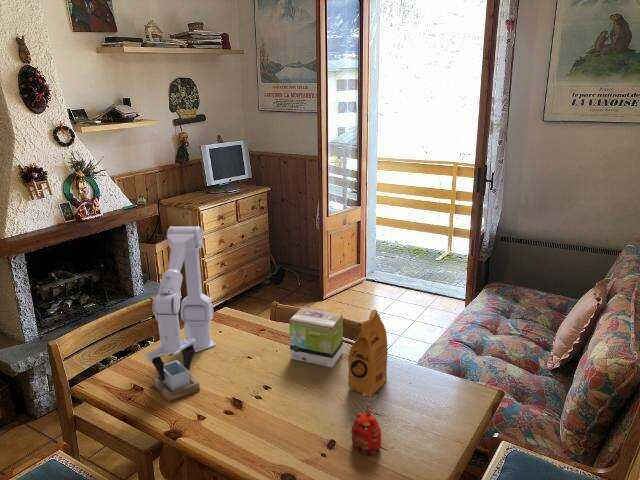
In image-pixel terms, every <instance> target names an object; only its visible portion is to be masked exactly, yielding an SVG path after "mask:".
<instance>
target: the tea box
mask: <svg viewBox="0 0 640 480" xmlns="http://www.w3.org/2000/svg"><path fill="white" fill-rule="evenodd" d="M343 315H344V314H342V313H336V312H331V311H324V310H319V309H312V308H307V307H300V308H299V309H298V310H297V311H296V313H295V314H293V316H292V317H291V318H290V319H288V322H289V325H288V326H289V352H290V353H289V354H290V360H295V361H299V362H300V361H301V362H303V363H309V364H310V363H311V364H314V365H318V366H323V367H326V368H331V369H332V368H333V367H334V366H335V365H336V363H337V362H338V360H340V358H341V356H342V354H343V352H344V351H343V350H344V349H343V347H344V344H343V343H344V341H343V340H344V339H343V338H344V335H343V334H344V332H343V331H344V322H343V321H344V316H343Z"/></svg>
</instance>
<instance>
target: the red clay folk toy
mask: <svg viewBox="0 0 640 480" xmlns="http://www.w3.org/2000/svg"><path fill="white" fill-rule="evenodd" d="M361 394H362V397H367V399H368V402H367V406H368V407H367V410H366V413H361V412H358V414H356V418H355V420H354V422H353V424H352V426H351V430H350V433H351V441H352V443H351V444H352V447H353V448H354V451H355V452H358V453H359V452H360V453H361V454H362V455H366V456H375V455H376V453H377V452H378V451H379V450H380V448H381V446H382V432H381V431H382V429H381V427H380V425H379V421H378V420H377V419H376V418H375V416H373V415H372V413H371V412H370V411H371V409H370V407H371V406H372V405H371V398H372V397H371V389H370V393H368V395H366V394H365V392H363V393H361Z"/></svg>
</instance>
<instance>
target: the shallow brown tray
mask: <svg viewBox="0 0 640 480" xmlns="http://www.w3.org/2000/svg"><path fill="white" fill-rule="evenodd" d="M189 377H190V385H188V386H185V387H183V388H180V389H178V390H175V391H173V392H169V391H168V389H167V388H166V387H165V386H164V385H163V384H162V382H161V379H160V377H159V374H158V375H156V376H155V375H154V376H152V384H153V386H154V387H155V388H156V390H157V391H158V392H159V393H160V394H161V395H162V396H163V397H164V399H165V400H166V401H167V403H169V404H170V403H172V402H176V401H177V400H180V399H183V398H185V397H188V396H189V395H192V394H195V393H197V392H199V391H200V392H201V387H200V382H199V381H197V379H195V377H194V376H193V375H191V373H189Z"/></svg>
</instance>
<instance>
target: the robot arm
mask: <svg viewBox="0 0 640 480" xmlns="http://www.w3.org/2000/svg"><path fill="white" fill-rule="evenodd" d="M203 232H204V231H203V229H202V228H201V226H199V225H196V226H173V225H171V226H169V228H168V229H167V232H166V240H167V244H168V246H169V249H170V252H169V258H168V259H169V260H168V268H167V270H165V271H164V272H163V274H162V276H161V281H160V285H159V289H158V294H156V295H155V296H154V297H153V298H152V306H151V307H152V308H151V309H152V313H153V315H154V316H155V317H154V318H155V320H156V322H157V324H158V333H159V342H160V346H159V347H157V348H155V349H153V350H152V351H150V352H147V353H146V354H145V356H146V361H147V362H148V363H152V365H153V366H154V368H155V370H156V371H157V374H158V375H159V377H160V379H161V380H162V381H164V380H165V376H164V364H165V363H164V361H163V359H162V357H165V356H170V355H173V356H176V355H179V354H182V359H183V366H184V367H185V368H186V369H188V370H189V371H191V370H190V368H191V363H192V359H193V357H194V355H195V354H196V353H198V352H200V351H203V350H207V349H209V348H212V347H215V346H216V345H217V344H216V343H215V342H214V341H213V340H212V338H211V329H210V322H211V321H212V320H213V318H214V306H213V304H212V303H213V302H212V298H211V297H209V296H208V295H206V294H204V293H203V285H202V274H201V273H202V271H201V261H200V249H202V248H204V233H203ZM183 265H184V270H185V281H186V293H187V296H185V297H184V298H183V299H182V300H181V294H180V292H181V288H182V282H183V278H184V277H183V274H182V273H181V271H182V267H183ZM179 312H180V318H179ZM180 319H181V320H182V321H183V322H184V325H183V327H184V335H185V336H184V337H185V339H182V338H181V330H180V329H181V328H180V321H179V320H180Z"/></svg>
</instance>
